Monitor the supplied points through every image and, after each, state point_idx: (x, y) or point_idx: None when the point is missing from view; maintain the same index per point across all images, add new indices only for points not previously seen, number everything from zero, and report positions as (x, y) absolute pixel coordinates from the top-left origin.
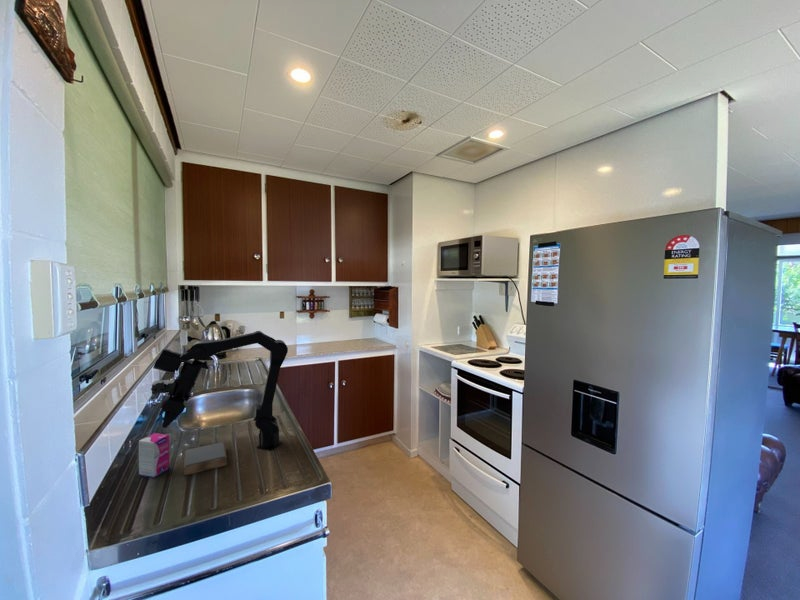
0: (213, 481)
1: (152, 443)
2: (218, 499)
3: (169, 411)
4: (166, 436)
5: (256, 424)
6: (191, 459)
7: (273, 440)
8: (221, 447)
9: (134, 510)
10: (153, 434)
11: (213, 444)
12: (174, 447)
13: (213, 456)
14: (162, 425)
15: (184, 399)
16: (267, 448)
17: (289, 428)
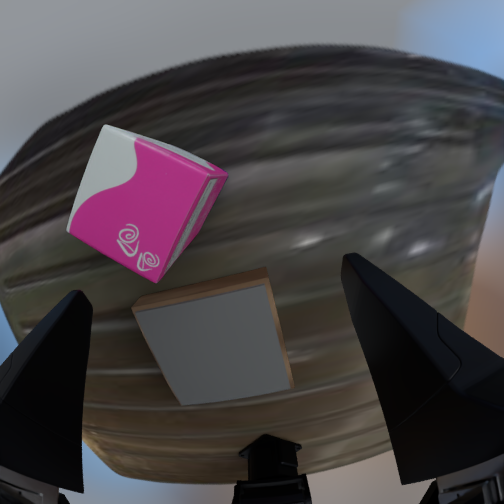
0: (110, 367)
1: (69, 224)
2: None
3: (6, 425)
4: (139, 274)
5: (239, 499)
6: (173, 323)
7: (248, 472)
8: (246, 391)
9: (26, 223)
10: (181, 174)
11: (281, 366)
12: (374, 197)
13: (183, 380)
14: (62, 299)
15: (411, 472)
16: (245, 451)
17: (347, 459)
